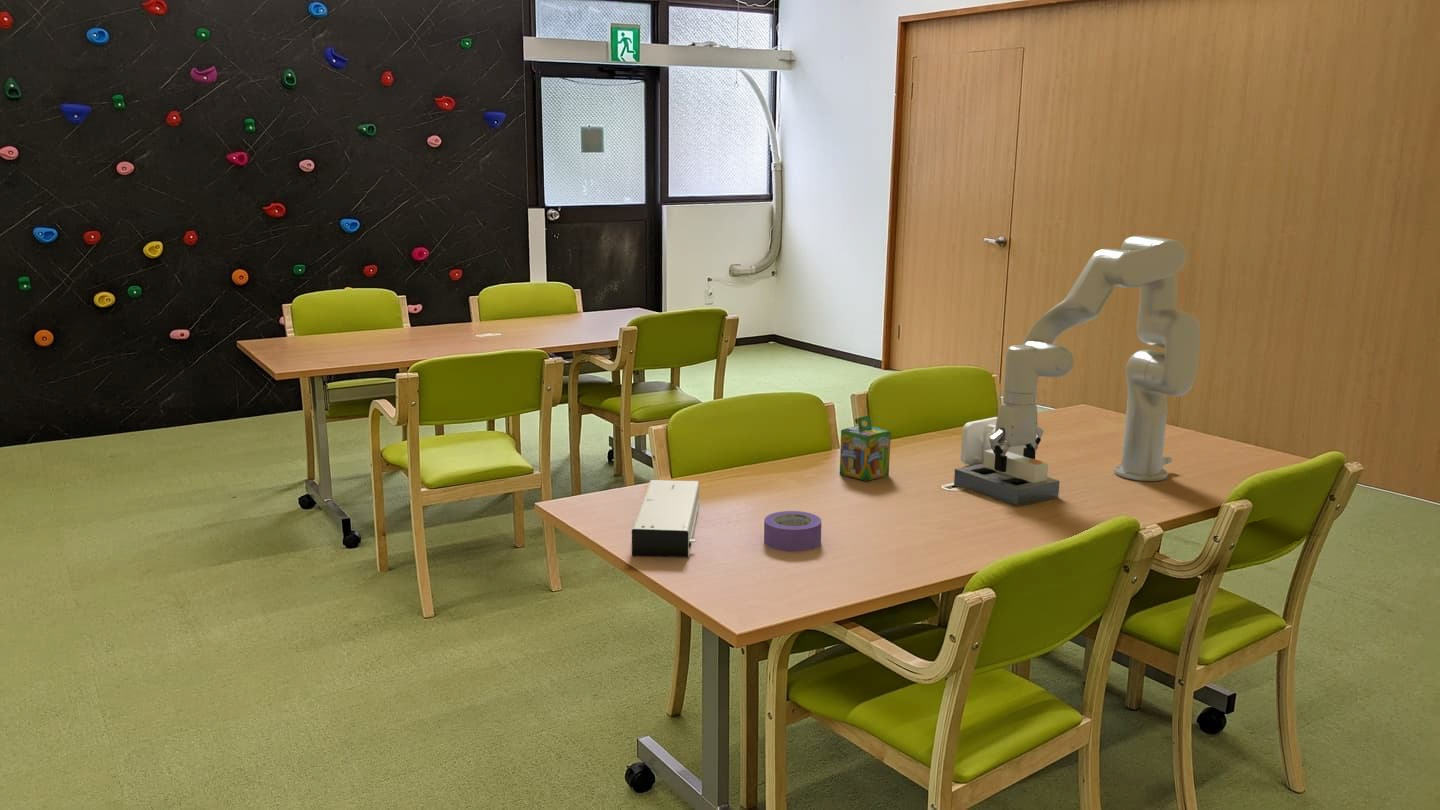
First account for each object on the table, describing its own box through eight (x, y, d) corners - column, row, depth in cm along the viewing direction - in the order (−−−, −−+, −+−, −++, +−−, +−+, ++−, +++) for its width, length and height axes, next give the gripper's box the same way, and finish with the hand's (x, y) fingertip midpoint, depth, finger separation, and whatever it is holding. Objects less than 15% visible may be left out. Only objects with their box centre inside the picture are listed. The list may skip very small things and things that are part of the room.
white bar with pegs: (994, 477, 282) (997, 446, 280) (1045, 494, 269) (1048, 461, 267) (982, 480, 280) (984, 448, 278) (1032, 496, 267) (1035, 463, 265)
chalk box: (866, 482, 279) (869, 423, 276) (838, 474, 285) (840, 416, 282) (890, 475, 285) (893, 417, 282) (862, 467, 292) (864, 411, 288)
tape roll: (779, 555, 229) (779, 531, 228) (754, 537, 239) (754, 514, 238) (831, 548, 234) (832, 524, 233) (804, 530, 244) (805, 508, 243)
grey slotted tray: (994, 476, 285) (995, 461, 284) (1058, 497, 269) (1059, 480, 268) (953, 484, 278) (954, 469, 277) (1016, 506, 261) (1018, 490, 260)
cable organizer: (990, 475, 286) (993, 430, 284) (958, 466, 294) (960, 422, 292) (1028, 466, 295) (1032, 422, 292) (996, 457, 303) (999, 414, 301)
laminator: (649, 505, 260) (649, 479, 259) (704, 507, 259) (704, 481, 258) (631, 558, 227) (631, 529, 225) (693, 560, 226) (694, 531, 225)
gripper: (1032, 391, 277) (1027, 459, 281) (981, 399, 268) (977, 469, 272) (1056, 397, 271) (1051, 466, 275) (1005, 405, 262) (1000, 477, 266)
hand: (1014, 468), depth 273 cm, fingers open, 9 cm apart
